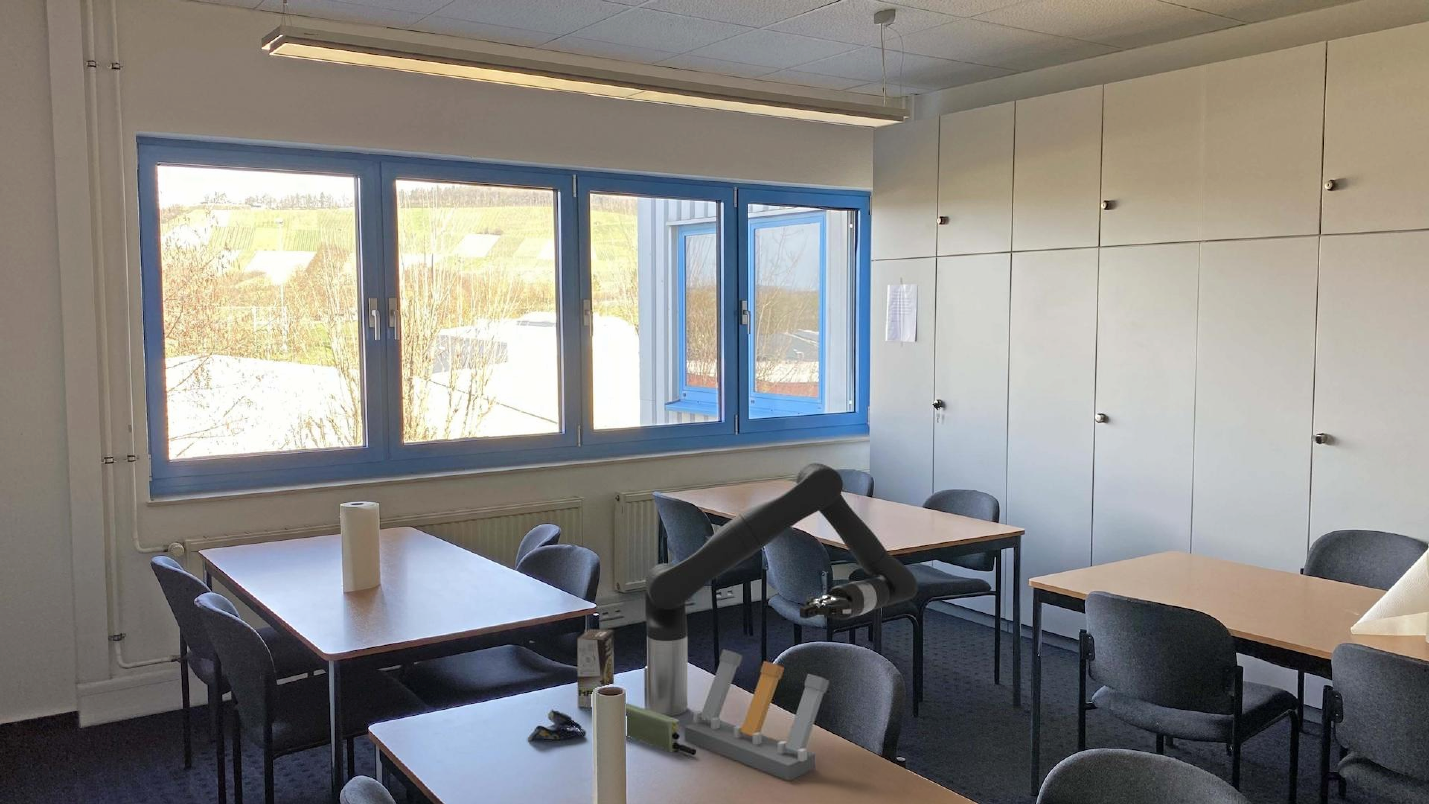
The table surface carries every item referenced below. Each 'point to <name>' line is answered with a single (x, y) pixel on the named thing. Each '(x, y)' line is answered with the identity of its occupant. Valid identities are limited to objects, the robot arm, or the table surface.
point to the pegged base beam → (749, 748)
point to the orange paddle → (762, 698)
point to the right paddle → (806, 712)
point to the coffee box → (594, 663)
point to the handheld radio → (654, 729)
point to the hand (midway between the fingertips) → (802, 613)
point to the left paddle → (721, 684)
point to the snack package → (557, 728)
